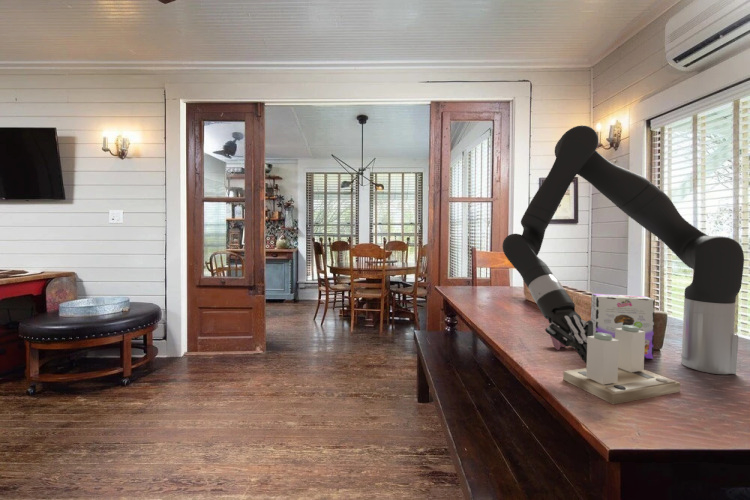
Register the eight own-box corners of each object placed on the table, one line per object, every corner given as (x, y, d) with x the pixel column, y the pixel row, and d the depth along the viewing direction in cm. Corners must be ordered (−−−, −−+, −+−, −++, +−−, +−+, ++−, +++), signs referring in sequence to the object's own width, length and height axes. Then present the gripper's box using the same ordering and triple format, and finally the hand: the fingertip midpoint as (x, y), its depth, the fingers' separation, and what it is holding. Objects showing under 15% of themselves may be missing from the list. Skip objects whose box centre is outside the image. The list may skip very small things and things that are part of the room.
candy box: (644, 352, 98) (647, 295, 98) (653, 359, 93) (656, 299, 92) (589, 347, 103) (590, 292, 102) (594, 353, 97) (596, 295, 97)
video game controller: (585, 353, 102) (580, 329, 105) (593, 351, 98) (588, 326, 101) (550, 351, 103) (547, 328, 106) (556, 349, 99) (552, 325, 102)
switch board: (563, 379, 80) (563, 369, 80) (624, 370, 85) (624, 361, 85) (613, 404, 68) (613, 392, 68) (679, 391, 74) (680, 380, 74)
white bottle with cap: (586, 377, 76) (587, 332, 75) (600, 374, 77) (601, 331, 76) (603, 384, 72) (604, 338, 71) (617, 382, 73) (619, 336, 73)
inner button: (613, 366, 82) (615, 325, 82) (626, 364, 83) (628, 324, 83) (630, 372, 78) (632, 329, 78) (643, 370, 80) (645, 328, 79)
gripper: (537, 289, 83) (579, 357, 72) (580, 287, 87) (626, 351, 76) (521, 306, 88) (557, 372, 77) (562, 303, 92) (602, 365, 81)
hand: (591, 361), depth 77 cm, fingers closed
